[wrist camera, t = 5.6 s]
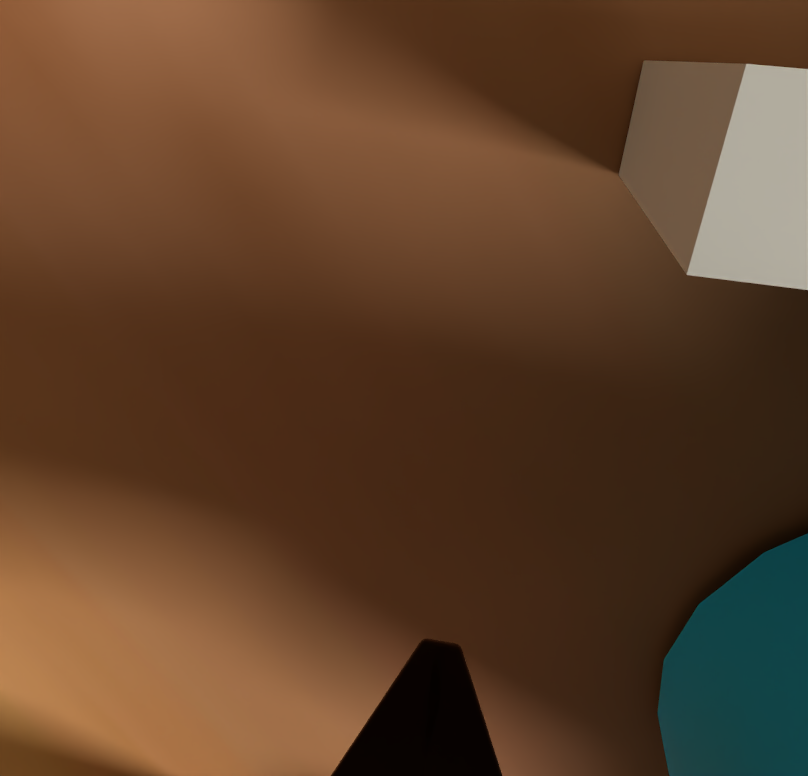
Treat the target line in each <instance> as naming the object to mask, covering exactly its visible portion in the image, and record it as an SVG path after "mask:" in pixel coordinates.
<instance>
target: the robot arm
mask: <svg viewBox="0 0 808 776" xmlns="http://www.w3.org/2000/svg"><path fill="white" fill-rule="evenodd" d="M331 776H502V773H501V770H500V767H499V764H498V761H497V757H496V754H495V751H494V748H493V745H492V742H491V739H490V736H489V732H488V729H487V726H486V723H485V720H484V717H483V714H482V711H481V707H480V704H479V701H478V698H477V695H476V692H475V689H474V686H473V682H472V679H471V676H470V673H469V670H468V667H467V664H466V661H465V657H464V654H463V651H462V649H461V647H460V646H459V645H458V644H455V643H449V642H443V641H438V640H432V639H424V640H422V641H421V642H420V643H419V645H418V646H417V648H416V649H415V651H414V652H413V654H412V655H411V657H410V658H409V660H408V661H407V663H406V664H405V666H404V667H403V669H402V670H401V672H400V673H399V675H398V676H397V678H396V679H395V681H394V682H393V684H392V685H391V687H390V688H389V690H388V691H387V693H386V694H385V696H384V697H383V699H382V700H381V702H380V703H379V705H378V706H377V708H376V709H375V711H374V712H373V714H372V715H371V716H370V718H369V719H368V721H367V722H366V724H365V725H364V727H363V728H362V730H361V731H360V733H359V734H358V736H357V737H356V739H355V740H354V742H353V743H352V745H351V746H350V748H349V749H348V751H347V752H346V754H345V755H344V757H343V758H342V760H341V761H340V763H339V764H338V766H337V767H336V769H335V770H334V772H333V773H332V775H331Z"/></svg>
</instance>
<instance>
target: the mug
mask: <svg viewBox="0 0 808 776" xmlns="http://www.w3.org/2000/svg"><path fill="white" fill-rule="evenodd" d="M657 714H658V719H659V725H660V730H661V735H662V741H663V746H664V751H665V756H666V762H667V767H668V772H669V776H808V533H807V534H805V535H803V536H800V537H798V538H796V539H794V540H791V541H789V542H787V543H784V544H782V545H780V546H778V547H775V548H773V549H771V550H768V551H766V552H764V553H763V554H761V555H760V556H759V557H758V558H756V559H755V560H754V561H753V562H751V563H750V564H749V565H748V566H746V567H745V568H744V569H743V570H741V571H740V572H739V573H737V574H736V575H735V576H734V577H732V578H731V579H730V580H729V581H727V582H726V583H725V584H724V585H722V586H721V587H720V588H719V589H717V590H716V591H715V592H714V593H712V594H711V595H710V596H708V597H707V598H706V599H705V600H703V601H702V602H701V603H700V604H699V605H698V606H697V608H696V609H695V611H694V613H693V614H692V616H691V617H690V619H689V620H688V622H687V624H686V625H685V627H684V628H683V630H682V632H681V633H680V635H679V636H678V638H677V640H676V641H675V643H674V644H673V646H672V647H671V649H670V651H669V652H668V654H667V655H666V657H665V659H664V662H663V671H662V679H661V687H660V696H659V704H658V712H657Z"/></svg>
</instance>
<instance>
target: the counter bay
mask: <svg viewBox="0 0 808 776" xmlns="http://www.w3.org/2000/svg"><path fill="white" fill-rule="evenodd" d="M619 177H620V178H621V179H622V181H623V182H624V184H625V185H626V187H627V188H628V190H629V191H630V193H631V194H632V196H633V197H634V199H635V200H636V201H637V203H638V204H639V206H640V207H641V209H642V210H643V212H644V213H645V215H646V216H647V218H648V219H649V220H650V222H651V223H652V225H653V226H654V228H655V229H656V231H657V232H658V234H659V235H660V237H661V238H662V240H663V241H664V242H665V244H666V245H667V247H668V248H669V250H670V251H671V253H672V254H673V256H674V257H675V259H676V260H677V261H678V263H679V264H680V266H681V267H682V269H683V270H684V272H685V273H686V275H691V276H699V277H707V278H715V279H723V280H731V281H739V282H748V283H756V284H764V285H772V286H780V287H788V288H796V289H804V290H808V69H801V68H789V67H778V66H766V65H755V64H738V63H709V62H680V61H651V60H644V61H643V66H642V70H641V75H640V80H639V84H638V89H637V93H636V98H635V102H634V107H633V112H632V116H631V121H630V125H629V130H628V134H627V139H626V144H625V148H624V153H623V157H622V162H621V166H620V171H619Z"/></svg>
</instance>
